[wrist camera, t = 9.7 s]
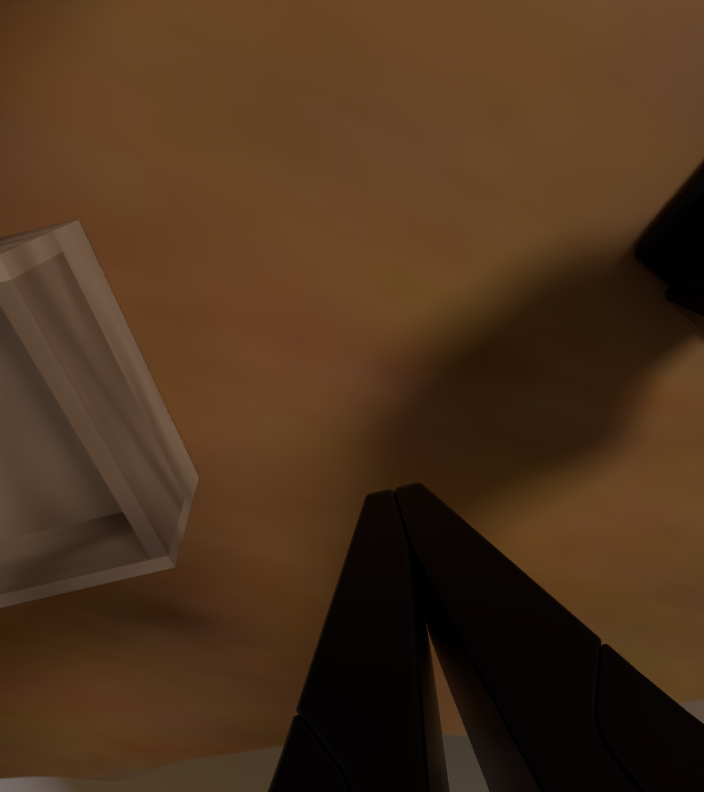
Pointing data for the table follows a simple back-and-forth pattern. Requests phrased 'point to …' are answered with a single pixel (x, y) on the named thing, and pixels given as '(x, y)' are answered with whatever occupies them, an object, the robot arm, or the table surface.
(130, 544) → the tray
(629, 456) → the table surface
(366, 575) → the robot arm
